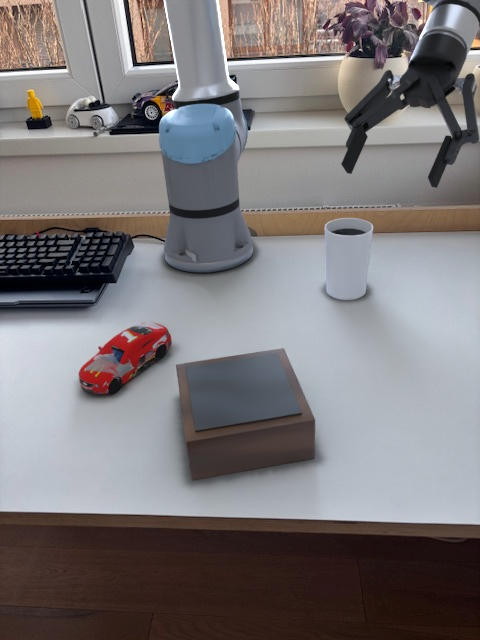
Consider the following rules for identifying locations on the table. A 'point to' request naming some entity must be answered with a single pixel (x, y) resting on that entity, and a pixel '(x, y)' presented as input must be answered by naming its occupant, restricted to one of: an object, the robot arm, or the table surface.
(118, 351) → the race car
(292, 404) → the stand
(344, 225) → the white coffee cup
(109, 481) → the table surface
